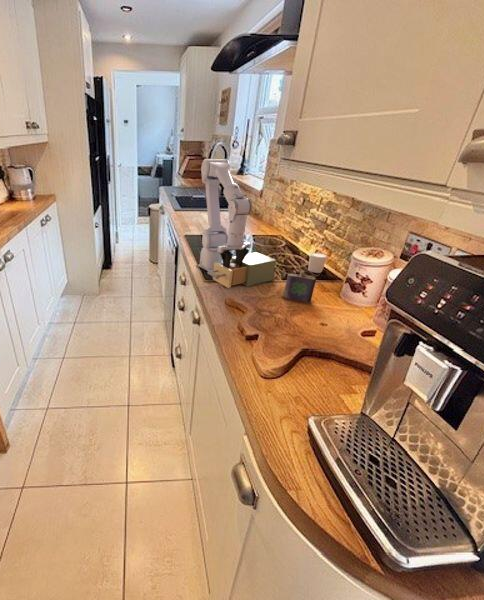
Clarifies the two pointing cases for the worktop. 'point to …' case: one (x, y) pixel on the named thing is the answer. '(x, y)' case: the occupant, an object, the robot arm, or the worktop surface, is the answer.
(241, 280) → the drawer
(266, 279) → the cabinet
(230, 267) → the donut
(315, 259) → the shot glass
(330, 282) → the worktop surface
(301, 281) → the flask
